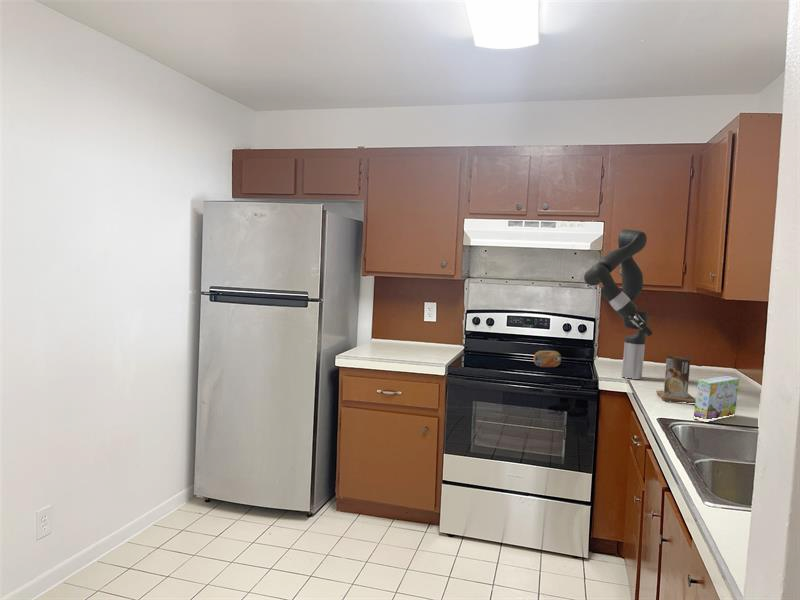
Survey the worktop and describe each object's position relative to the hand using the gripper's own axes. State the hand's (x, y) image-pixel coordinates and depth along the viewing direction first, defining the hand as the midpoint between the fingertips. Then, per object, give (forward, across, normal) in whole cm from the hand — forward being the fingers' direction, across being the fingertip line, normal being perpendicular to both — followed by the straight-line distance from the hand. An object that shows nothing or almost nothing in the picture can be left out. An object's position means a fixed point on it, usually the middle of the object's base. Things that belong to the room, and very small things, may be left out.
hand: (648, 333), depth 251 cm
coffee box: (+27, 0, +9) cm, 28 cm away
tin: (-8, +49, +46) cm, 68 cm away
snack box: (+34, -26, +5) cm, 43 cm away
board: (+28, 0, +10) cm, 30 cm away
